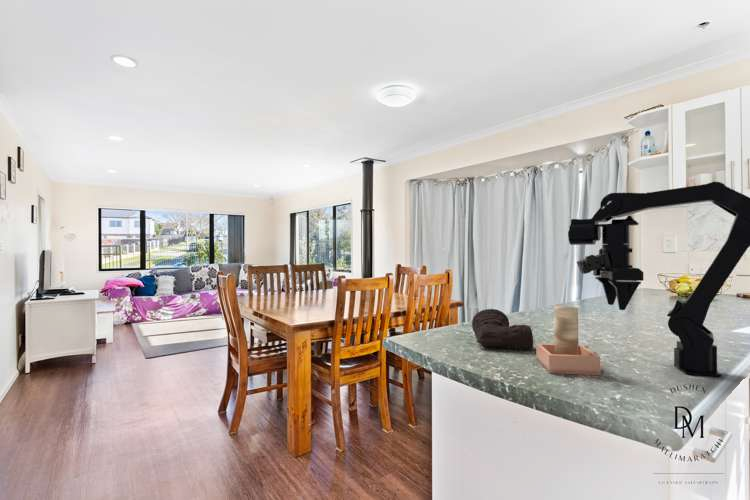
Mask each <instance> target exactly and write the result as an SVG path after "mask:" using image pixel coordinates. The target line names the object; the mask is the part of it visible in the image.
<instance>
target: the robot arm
mask: <svg viewBox="0 0 750 500" xmlns="http://www.w3.org/2000/svg"><path fill="white" fill-rule="evenodd" d="M709 202H710V203H712V204H714V205H716V206H718V207H719V208H721V209H722V210H723V211H725V212H727V213H728V214H730V215H732V216H733V217H734V219H733V222H732V225H731V227H730V231H729V233H728V236H727V239H726V240H725V242H724V244H723V245H722V247H721V248H720V249H719V252H718V253H717V254H716V255H715V258H714V259H713V261H712V262H711V264H710V265H709V267H708V269H706V271H705V273H704V275H703V276H702V278H701V279H700V281H699V282H698V283H697V285H696V287H695V289H693V291H692V293H691V294H690V295H689V296H688V297H687V298H686V299H685V300H683V299H681V298H680V297H678V298H677V299H676V301H675V304H674V306H673V308H672V309H671V310H669V311H668V313H667V315H666V317H669V318H668V321H667V326H668V328H669V330H670V332H671V334H673V335H675V336H677V337H678V339H679V340H676V347H674V348H673V349H674V350H673V353H674V354H673V359H674V361H673V362H674V363H673V367H675V368H676V369H678V370H679V371H681V372H683V373H684V374H685V375H696V376H697V375H698V376H710V377H722V375H723V374H722V373H720V372H719V371H718V345H715V344H714V342H715V337H714V333H713V332H712V331H711V330H709V329H708V328H707V327H706V326H704V322H705V319H706V318H707V314H708V312H709V309H710V306H711V303H712V302H713V300H715V298H716V296H717V294H718V293H719V291H721V289H722V287H723V286H724V284H725V283H726V281H727V280H728V279H729V277H730V275H731V274H732V272H733V271H734V269H735V267H736V266H737V265H738V263H739V262H740V260H741V259H742V257H743V256H744V254H745V253H746V252H747V250H748V249H749V247H750V197H749V196H747V195H745V194H743V193H742V192H739V191H736V190H735V189H733V188H730V187H728V186H727V185H726V184H725V183H723V182H720V181H710V182H708V183H706V184H698V185H692V186H684V187H677V188H672V189H671V188H670V189H665V190H659V191H651V192H643V193H642V192H611V193H610V192H609V193H608V194H606V195H605V196H604V197H603V198H602V199H601V201H600V207H599V208H598V210H597V211H596V212H595V214H594V215H593V216H592V217H591V218H584V219H578V218H571V220H570V225H569V227H568V229H569V230H568V232H567V233H568V234H567V235H568V236H567V237H568V244H569V245H571V246H575V245H576V246H583V245H584V246H585V245H590V246H591V245H594V246H595V244H596V242H599V241H600V240H602V244H601V246H602V247H601V248H600V249H599V250H598V254H596V255H595V254H590V255H587V256H585V257H584V258H583V259H580V260H578V261H576V264H577V267H578V268H579V272H580V273H581V274H583V275H585V274H590V273H591V272H592V275H593V276H595V277H594V279H595V280H598V282H600V283H601V285H602V287H603V291H604V295H605V298H606V301H607V305H610V306H611V305H612V306H614V303H615V302H616V300H617V305H618V309H619V311H625V310H626V309H627V307H628V304H630V301H631V299H632V297H633V296H634V294H635V292H636V291H637V289H638V287H639V286H640V285H641V283H642V281H643V282H644V271H643V270H641V268H639V267H633V264H632V265H631V264H630V262H631V261H630V258H631V257H630V253H633V248H632V247H630V227H631V226H639V225H640V223H639V222H638V221H637V220H635V219H634V218H633V216H631V215H635V214H637V213H639V212H644V211H647V210H652V209H659V208H660V209H661V208H668V207H676V206H683V205H691V204H699V203H709ZM626 216H627V217H626ZM623 217H626V218H623ZM615 218H617V219H615ZM618 218H620V219H618ZM621 218H622V219H621ZM609 221H611V223H608V222H609ZM599 223H600V224H599ZM601 228H602V229H601ZM601 231H602V232H601ZM601 237H602V239H601Z"/></svg>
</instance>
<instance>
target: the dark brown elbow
mask: <svg viewBox="0 0 750 500" xmlns="http://www.w3.org/2000/svg"><path fill="white" fill-rule="evenodd" d="M471 328H472V331H473V332H474V336H475V339H476V342H477V343H479V344H480V346H481V347H483V348H490V349H497V348H499V349H500V348H509V349H513V350H520V351H523V350H524V351H527V350H531V349H533V348H534V336H533V331H532V328H531V326H530V325H527V324H513V325H510V320H509V318H508V316H507V315H506V314H505V313H504V312H503V311H502V310H499V309H495V308H487V309H482V310H480V311H478V312H477V313H476V314H475V315H474V316H473V317H472V322H471Z"/></svg>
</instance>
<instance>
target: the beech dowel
mask: <svg viewBox="0 0 750 500" xmlns="http://www.w3.org/2000/svg"><path fill="white" fill-rule="evenodd" d="M553 309H554V311H553V312H554V317H553V318H554V319H553V320H554V322H553V323H554V324H553V325H554V327H553V328H554V330H553V331H554V332H553V333H554V344H555V354H559V355H579V353H578V345H579V308H578V307H576V306H575V307H574V306H568V305H564V306H563V305H560V306H557V305H556V306H554V308H553Z"/></svg>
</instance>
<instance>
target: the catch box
mask: <svg viewBox="0 0 750 500" xmlns="http://www.w3.org/2000/svg"><path fill="white" fill-rule="evenodd" d="M583 345H584V344H578V353H579V355H559V354H555V343H536V344H535V346H536V357H535V359H536V361H537V362H538V363H539V364H540V365H541V366H542V368H544V369H545V370H546V371H547V373H549V374H562V375H563V374H565V375H586V376H587V375H588V376H589V375H590V376H601V375H602V374H601V372H602V371H601V356H600V355H599V354H597V353H596V354H595V353H594V352H592V351H593V350H590V349H589V348H586V347H584V346H583Z"/></svg>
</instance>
